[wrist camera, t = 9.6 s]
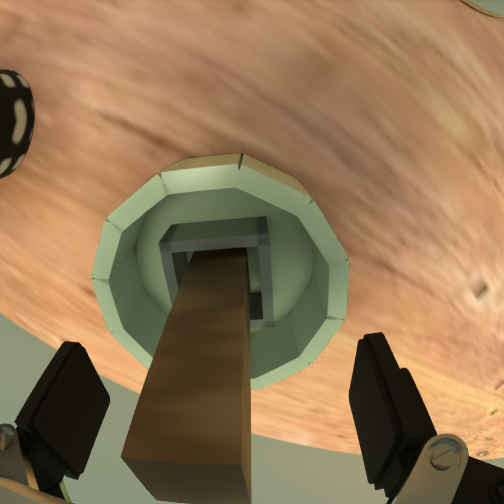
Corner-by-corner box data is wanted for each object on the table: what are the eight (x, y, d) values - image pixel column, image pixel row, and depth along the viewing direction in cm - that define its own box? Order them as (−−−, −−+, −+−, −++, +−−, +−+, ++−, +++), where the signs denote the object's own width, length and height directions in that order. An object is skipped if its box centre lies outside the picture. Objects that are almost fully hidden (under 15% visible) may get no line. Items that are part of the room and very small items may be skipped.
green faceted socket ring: (324, 148, 17) (351, 157, 13) (323, 333, 22) (338, 381, 18) (108, 170, 18) (68, 188, 13) (150, 343, 23) (133, 389, 18)
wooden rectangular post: (246, 241, 19) (240, 464, 6) (250, 285, 20) (251, 505, 7) (196, 244, 19) (120, 456, 6) (203, 288, 20) (156, 500, 7)
